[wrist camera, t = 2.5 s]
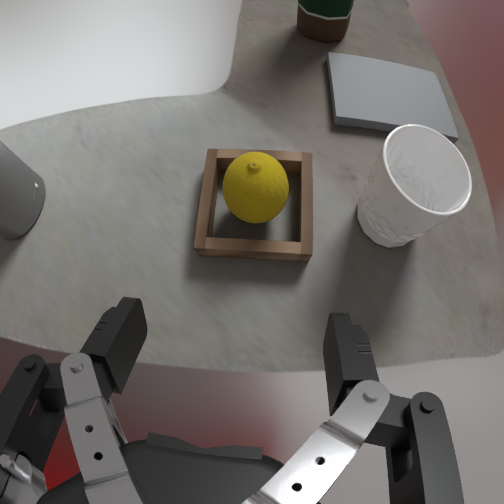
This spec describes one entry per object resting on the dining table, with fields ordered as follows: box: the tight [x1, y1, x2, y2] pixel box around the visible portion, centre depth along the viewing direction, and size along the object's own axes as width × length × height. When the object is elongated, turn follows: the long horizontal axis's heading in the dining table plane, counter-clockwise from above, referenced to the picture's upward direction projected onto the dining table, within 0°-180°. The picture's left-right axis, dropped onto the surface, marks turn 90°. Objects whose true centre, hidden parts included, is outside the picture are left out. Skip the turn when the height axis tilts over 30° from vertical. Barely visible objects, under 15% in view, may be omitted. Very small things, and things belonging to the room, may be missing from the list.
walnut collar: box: [194, 149, 313, 262], centre depth 29 cm, size 10×10×2 cm
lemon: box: [223, 152, 289, 223], centre depth 27 cm, size 6×6×8 cm
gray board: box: [327, 52, 459, 144], centre depth 33 cm, size 16×12×2 cm
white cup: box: [357, 124, 472, 248], centre depth 25 cm, size 8×8×10 cm
